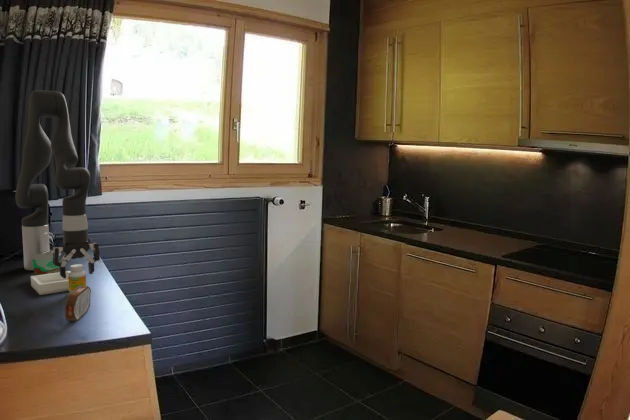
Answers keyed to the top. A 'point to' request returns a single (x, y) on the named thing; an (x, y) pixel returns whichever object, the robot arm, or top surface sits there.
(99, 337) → the top surface
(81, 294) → the tin
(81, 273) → the supplement bottle
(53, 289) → the tray
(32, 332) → the top surface
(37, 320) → the top surface
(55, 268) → the ice cream tub
